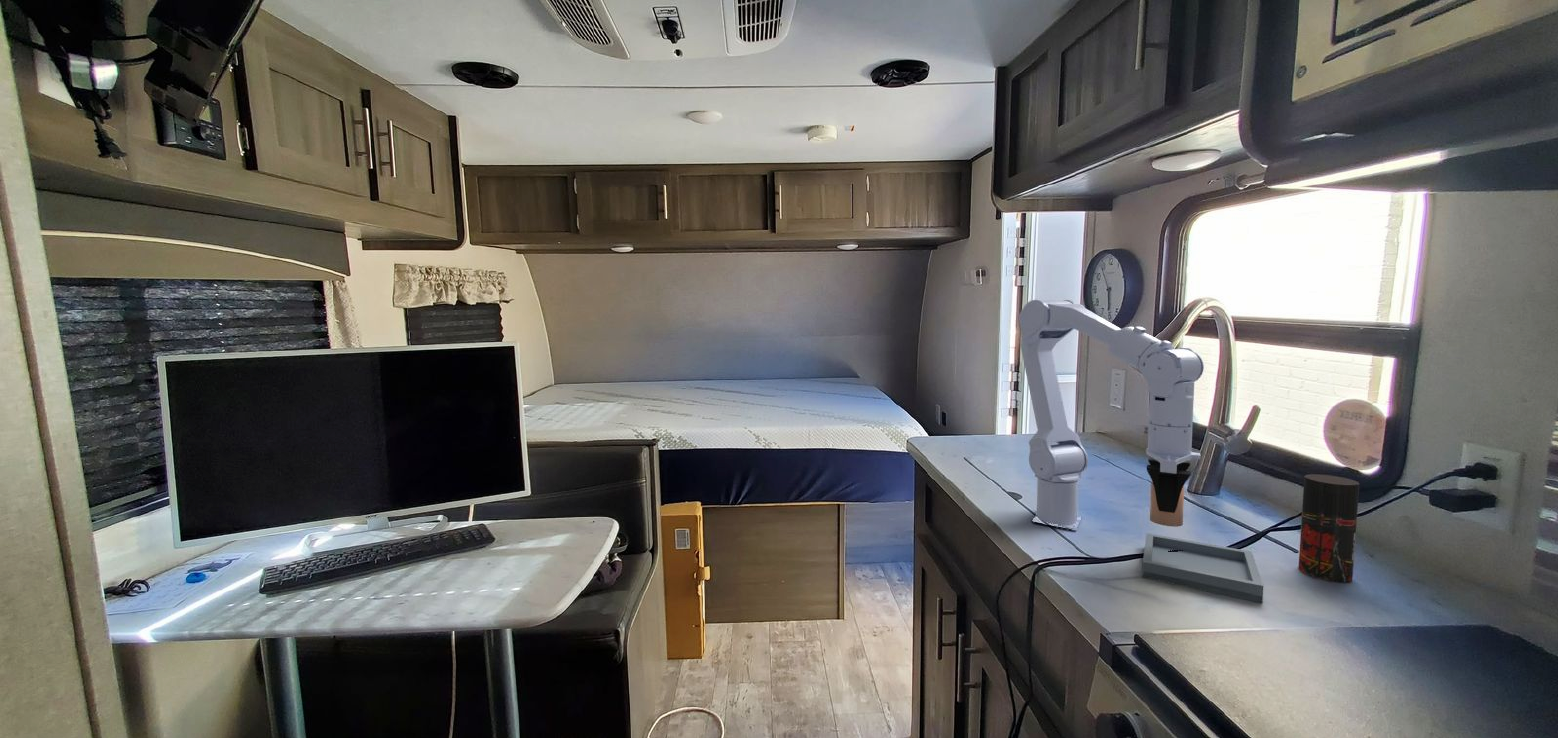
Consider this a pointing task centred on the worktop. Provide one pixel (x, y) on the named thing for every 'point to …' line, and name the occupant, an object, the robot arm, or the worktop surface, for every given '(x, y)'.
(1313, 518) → the deodorant
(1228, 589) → the tray
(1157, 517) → the shaker
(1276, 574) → the worktop surface
